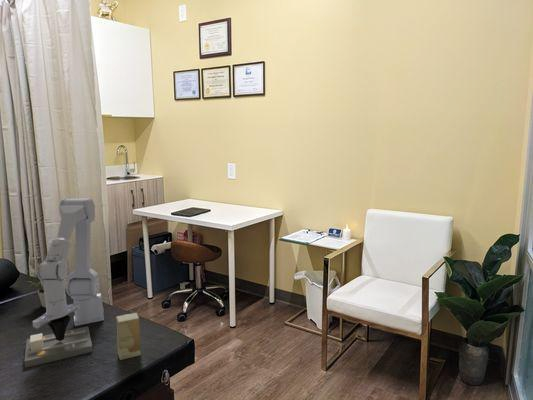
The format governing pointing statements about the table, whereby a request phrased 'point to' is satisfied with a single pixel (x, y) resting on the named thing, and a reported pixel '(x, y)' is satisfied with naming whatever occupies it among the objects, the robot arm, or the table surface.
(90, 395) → the table surface
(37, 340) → the block
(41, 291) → the house plant
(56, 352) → the panel
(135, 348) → the skincare box
